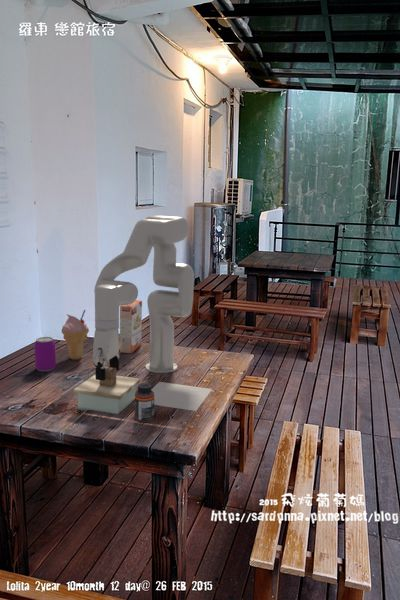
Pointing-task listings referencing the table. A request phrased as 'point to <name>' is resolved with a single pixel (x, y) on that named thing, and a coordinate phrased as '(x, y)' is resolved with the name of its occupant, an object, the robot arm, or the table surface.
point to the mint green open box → (105, 403)
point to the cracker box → (130, 326)
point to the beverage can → (45, 354)
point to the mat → (179, 396)
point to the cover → (108, 385)
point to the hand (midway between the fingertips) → (107, 374)
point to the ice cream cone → (75, 335)
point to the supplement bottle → (144, 403)
